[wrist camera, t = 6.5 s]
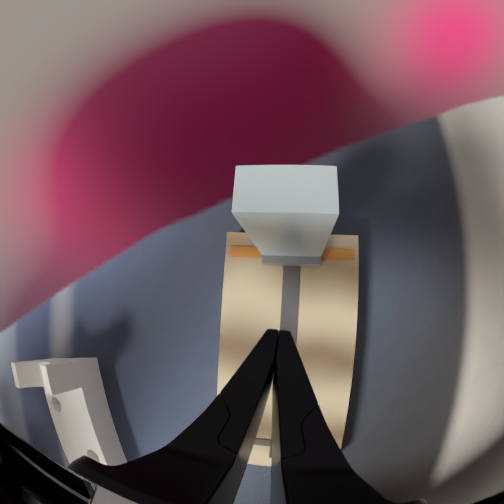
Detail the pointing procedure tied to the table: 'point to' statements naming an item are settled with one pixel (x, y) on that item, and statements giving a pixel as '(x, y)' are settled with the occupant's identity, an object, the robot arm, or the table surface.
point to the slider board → (293, 323)
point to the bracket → (75, 406)
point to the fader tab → (287, 210)
